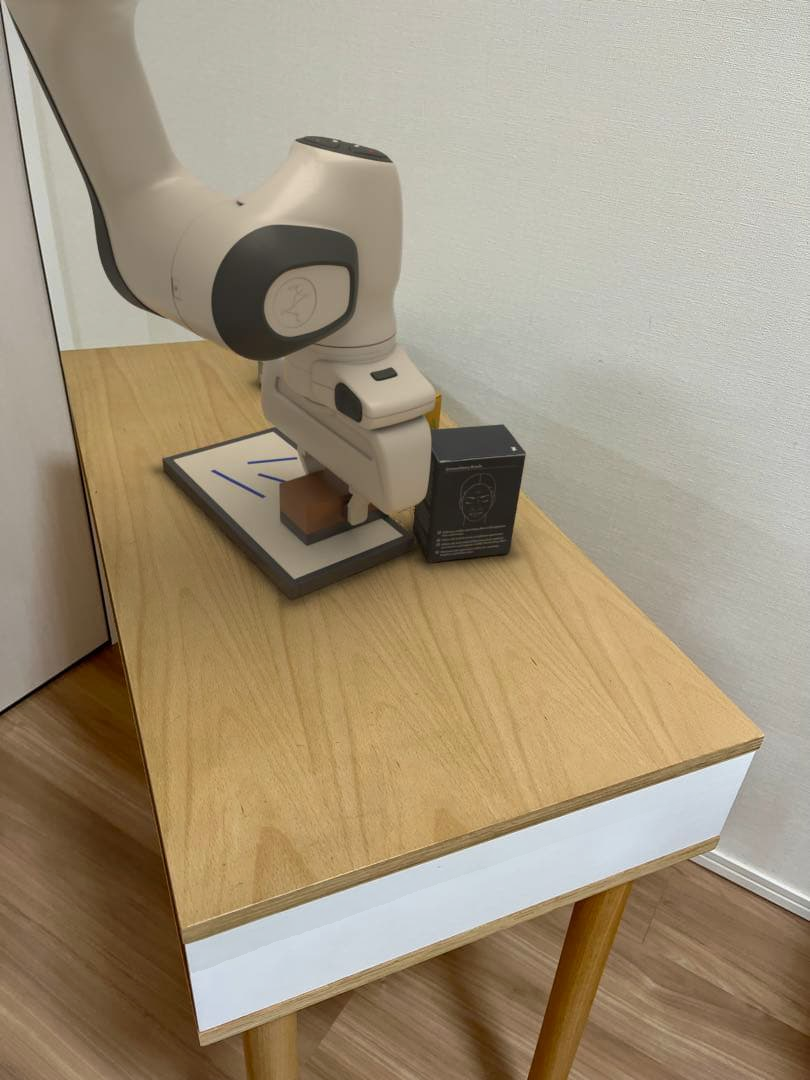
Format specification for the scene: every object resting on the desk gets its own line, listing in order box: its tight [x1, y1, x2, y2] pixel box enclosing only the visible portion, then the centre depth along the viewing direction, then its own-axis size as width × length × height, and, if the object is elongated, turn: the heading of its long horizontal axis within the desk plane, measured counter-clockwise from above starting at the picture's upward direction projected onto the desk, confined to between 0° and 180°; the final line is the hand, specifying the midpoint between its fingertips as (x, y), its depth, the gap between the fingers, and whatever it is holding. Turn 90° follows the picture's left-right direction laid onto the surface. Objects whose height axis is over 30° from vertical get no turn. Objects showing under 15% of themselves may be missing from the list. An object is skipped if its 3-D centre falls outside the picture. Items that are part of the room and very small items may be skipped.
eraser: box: [279, 468, 390, 546], centre depth 73 cm, size 9×4×4 cm, turn 128°
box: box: [412, 423, 527, 563], centre depth 72 cm, size 8×6×11 cm
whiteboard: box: [161, 426, 416, 601], centre depth 77 cm, size 13×24×1 cm, turn 38°
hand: (335, 504), depth 73 cm, fingers closed on eraser, 4 cm apart
